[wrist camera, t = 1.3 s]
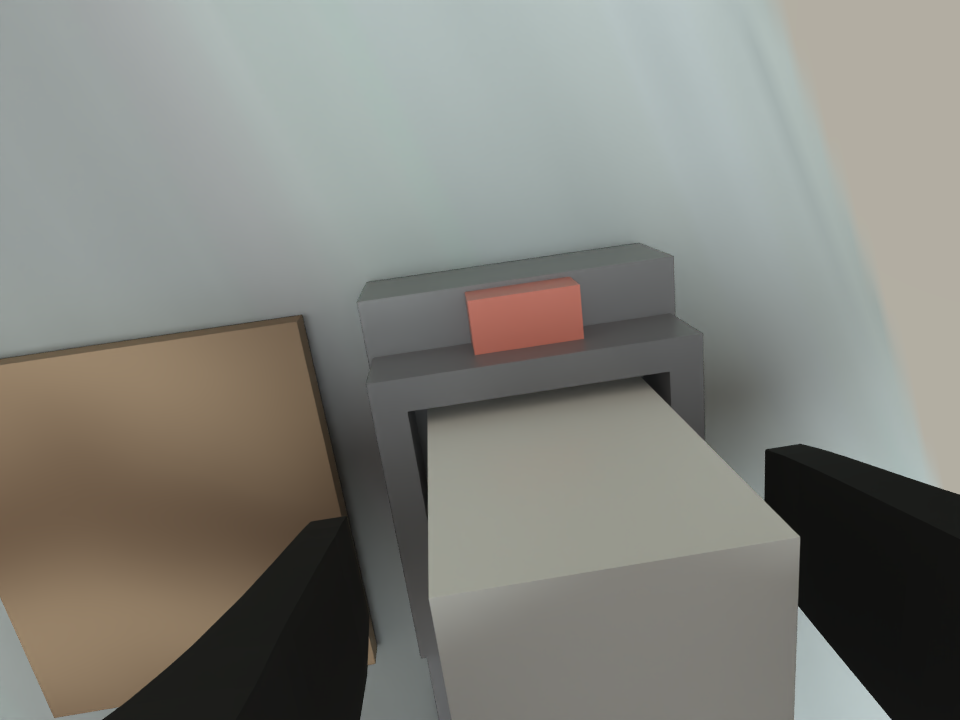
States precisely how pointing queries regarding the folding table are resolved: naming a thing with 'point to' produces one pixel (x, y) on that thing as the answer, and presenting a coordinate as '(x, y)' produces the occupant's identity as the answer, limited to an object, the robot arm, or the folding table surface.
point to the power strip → (511, 364)
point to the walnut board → (152, 496)
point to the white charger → (603, 564)
